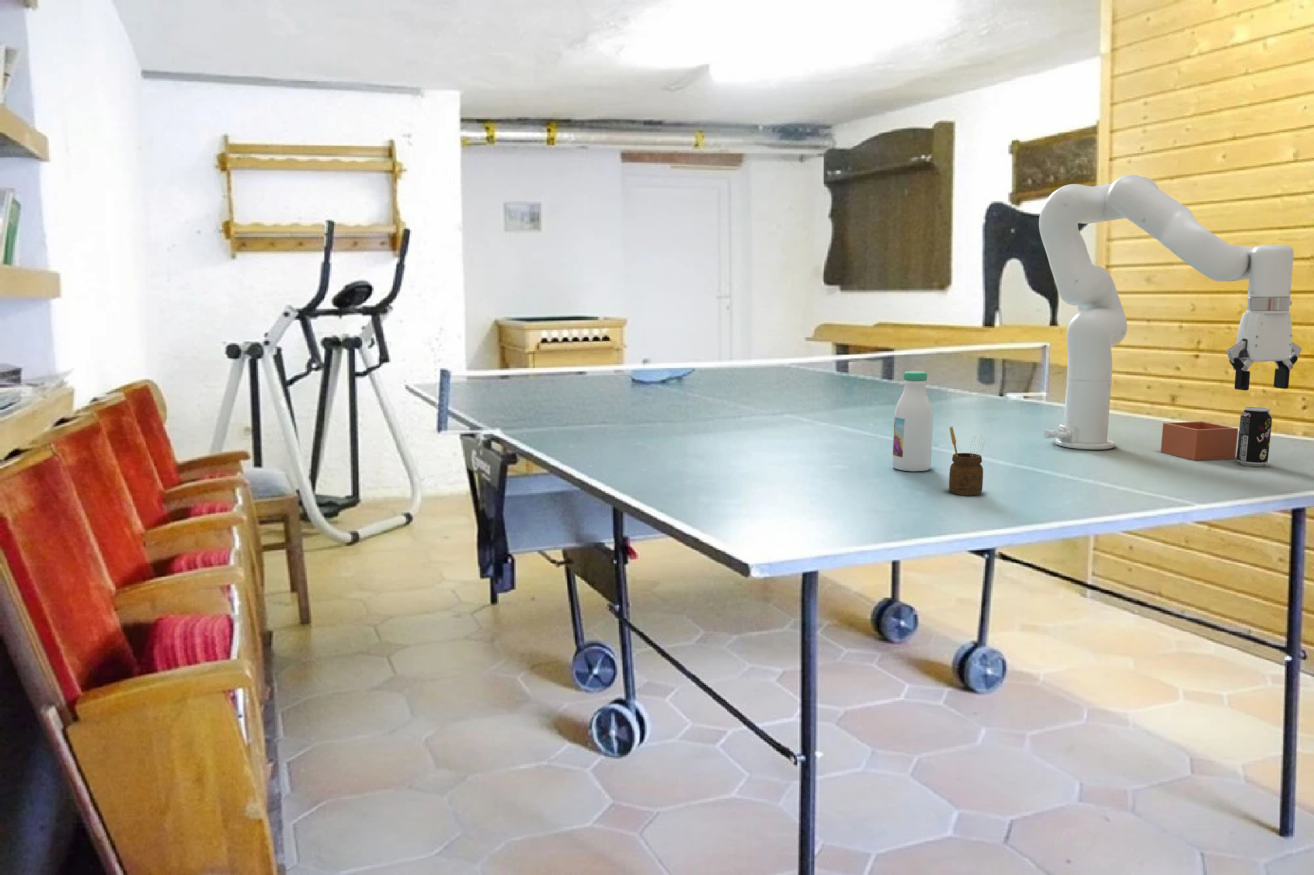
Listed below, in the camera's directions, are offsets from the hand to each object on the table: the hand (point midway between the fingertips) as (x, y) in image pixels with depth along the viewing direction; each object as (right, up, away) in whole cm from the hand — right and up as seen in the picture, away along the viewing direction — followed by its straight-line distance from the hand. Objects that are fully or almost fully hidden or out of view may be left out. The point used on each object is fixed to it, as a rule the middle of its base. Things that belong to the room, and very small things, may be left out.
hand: (1261, 388), depth 211 cm
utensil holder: (-69, -20, -24) cm, 76 cm away
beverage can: (0, -16, +3) cm, 16 cm away
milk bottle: (-73, -17, -1) cm, 75 cm away
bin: (-6, -14, +14) cm, 21 cm away
